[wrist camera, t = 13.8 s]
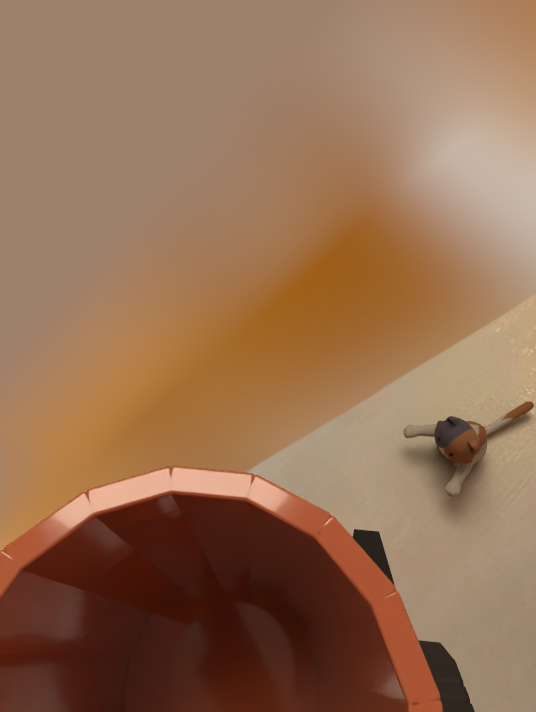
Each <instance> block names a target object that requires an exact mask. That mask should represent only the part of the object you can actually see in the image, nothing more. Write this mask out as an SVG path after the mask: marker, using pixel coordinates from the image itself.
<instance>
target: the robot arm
mask: <svg viewBox="0 0 536 712" xmlns="http://www.w3.org/2000/svg"><path fill="white" fill-rule="evenodd" d="M353 539H354V540H355V541H356V542H357V543H358V544H359V545H360V547H361V548H362V549H363V550H364V551H365V552H366V553H367V555H368V556H369V557H370V558H371V559H372V560H373V562H374V563H375V564H376V565H377V566H378V567H379V568H380V570H381V571H382V572H383V573H384V574H385V575H386V576H387V578H388V579H389V580H390V581H391V582H392V583H393V584H394V582H393V578H392V575H391V571H390V568H389V565H388V561H387V558H386V554H385V551H384V547H383V544H382V541H381V537H380V534H379V532H377V531H367V530H357V529H354V534H353ZM394 586H395V585H394ZM418 641H419V640H418ZM419 644H420V646H421V649H422V651H423V654H424V656H425V659H426V661H427V664H428V666H429V668H430V671H431V673H432V676H433V678H434V681H435V683H436V686H437V688H438V691H439V693H440V699H439V700H440V701H441V702H442V705H443V712H475V711H474V709H473V706H472V704H470V698H469V696H468V693H467V691H466V688H465V686H464V685H463V680H462V678H461V675H460V672H459V670H458V667H457V664H456V662H455V660H454V659H453V658H452V657H451V656H450V654H449V653H448V652H447V651H446V649H445V648H444V647H443V646H442V645H441V643H438V642H428V641H419Z"/></svg>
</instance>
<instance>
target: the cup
mask: <svg viewBox="0 0 536 712" xmlns="http://www.w3.org/2000/svg"><path fill="white" fill-rule="evenodd" d="M439 699H440V693H439V691H438V688H437V686H436V683H435V681H434V678H433V676H432V673H431V671H430V668H429V666H428V664H427V661H426V659H425V656H424V654H423V651H422V649H421V646H420V644H419V641H418V639H417V636H416V634H415V631H414V629H413V626H412V624H411V621H410V619H409V616H408V614H407V612H406V609H405V607H404V604H403V602H402V599H401V597H400V594H399V593H398V591H396V588H395V586H394V584H393V583H392V582H391V581H390V580H389V579H388V578H387V576H386V575H385V574H384V573H383V572H382V571H381V570H380V568H379V567H378V566H377V565H376V564H375V563H374V562H373V560H372V559H371V558H370V557H369V556H368V555H367V553H366V552H365V551H364V550H363V549H362V548H361V547H360V545H359V544H358V543H357V542H356V541H355V540H354V539H353V537H352V536H351V535H350V534H349V533H348V532H347V531H346V529H345V528H344V527H343V526H342V525H341V524H340V523H339V521H338V520H337V519H336V518H335V517H334V516H331V514H330V513H329V512H327V511H325V510H323V509H321V508H319V507H317V506H315V505H313V504H312V503H310V502H308V501H306V500H304V499H302V498H300V497H298V496H296V495H295V494H293V493H291V492H289V491H287V490H285V489H283V488H281V487H279V486H277V485H276V484H274V483H272V482H270V481H268V480H266V479H264V478H262V477H260V476H259V475H255V476H254V474H252V473H243V472H233V471H223V470H212V469H202V468H191V467H182V466H172V468H171V467H165V468H161V469H158V470H154V471H151V472H147V473H144V474H140V475H137V476H133V477H130V478H126V479H123V480H119V481H116V482H112V483H108V484H105V485H101V486H98V487H94V488H91V489H89V490H87V492H82V493H81V494H79V495H78V496H76V497H75V498H74V499H72V500H71V501H69V502H68V503H67V504H65V505H64V506H62V507H61V508H59V509H58V510H57V511H55V512H54V513H52V514H51V515H50V516H48V517H47V518H46V519H44V520H42V521H41V522H40V523H38V524H37V525H35V526H34V527H33V528H31V529H30V530H28V531H27V532H25V533H24V534H23V535H21V536H20V537H18V538H17V539H16V540H14V541H13V542H11V543H10V544H9V545H7V546H6V547H5V548H4V550H1V551H0V712H443V705H442V702H441V701H440V700H439Z"/></svg>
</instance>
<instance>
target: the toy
mask: <svg viewBox="0 0 536 712" xmlns="http://www.w3.org/2000/svg"><path fill="white" fill-rule="evenodd" d="M533 406H534V405H533V403H532V402H525V403H524V404H522V405H520V406H519V407H517V408H515V409H514V410H512V411H511V412H509V413H507V414H506V415H504V416H503V417H501V418H499V419H498V420H496V421H495V422H493V423H491V424H490V425H488V426H486V427H485V428H484V427H483V426H481V425H480V424H478V423H476V422H471V421H464V420H462V419H460V418H457V417H453V416H450V417H448V418H447V419H446V420H445V421H438V423H437V424H433V425H424V426H413V425H408V426H406V428H405V429H404V436H405V437H406V438H413V437H416V436H431V437H435V441H436V444H437V447H438V448H439V450H440V451H441V452H442V454H443V455H444V456H445V457H447V458H448V459H450V460H451V461H453V463H454V465H455V466H456V467H457V468H456V471H455V473H454V475H453V478H452V479H451V481H450V482H449V483H448V484H447V485H446V487H445V492H446V493H447V495H449V496H452V497H455V496H456V495H458V494H459V493H460V489H461V485H462V483H463V482H464V480H465V479H466V477H467V476H468V474H469V472H470V471H471V468H472V466H473V464H474V463H476V462H478V461H479V460H481V459H482V458H483V456H484V455H485V452H486V449H487V435H489V434H490V433H492V432H494V431H496V430H497V429H499V428H501V427H502V426H504V425H506V424H507V423H509V422H511V421H512V420H514V419H516V418H518V417H519V416H521V415H523V414H524V413H526V412H528V411H529V410H531V409H532V408H533Z"/></svg>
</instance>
